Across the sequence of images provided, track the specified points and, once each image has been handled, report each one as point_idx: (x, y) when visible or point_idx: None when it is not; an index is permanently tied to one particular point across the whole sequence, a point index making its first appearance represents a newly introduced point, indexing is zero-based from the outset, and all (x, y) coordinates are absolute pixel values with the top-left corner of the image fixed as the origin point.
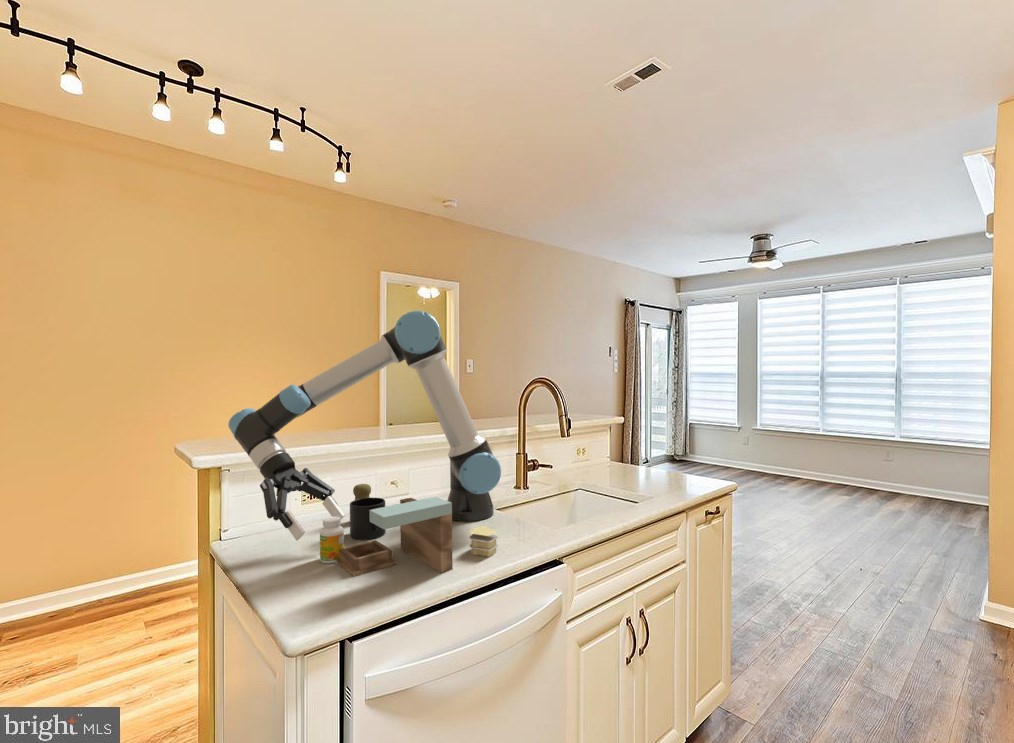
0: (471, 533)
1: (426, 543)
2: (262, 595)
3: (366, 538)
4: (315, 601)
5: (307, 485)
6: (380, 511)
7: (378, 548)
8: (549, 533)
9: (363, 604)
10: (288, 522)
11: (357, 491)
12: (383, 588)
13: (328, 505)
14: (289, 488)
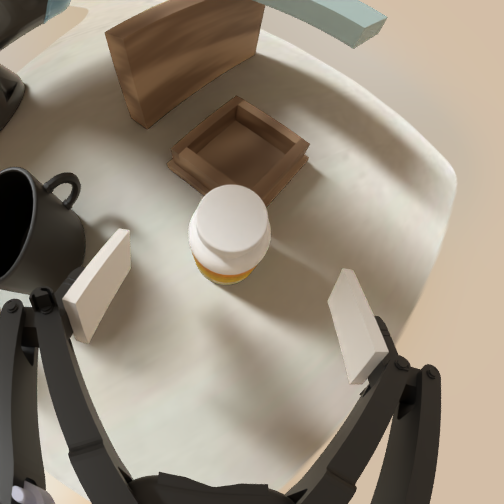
0: None
1: (227, 44)
2: (411, 290)
3: (83, 231)
4: (400, 187)
5: (103, 439)
6: (361, 15)
7: (207, 133)
8: (105, 12)
9: (379, 122)
10: (381, 324)
11: None
12: (331, 107)
13: (97, 303)
14: (274, 491)
